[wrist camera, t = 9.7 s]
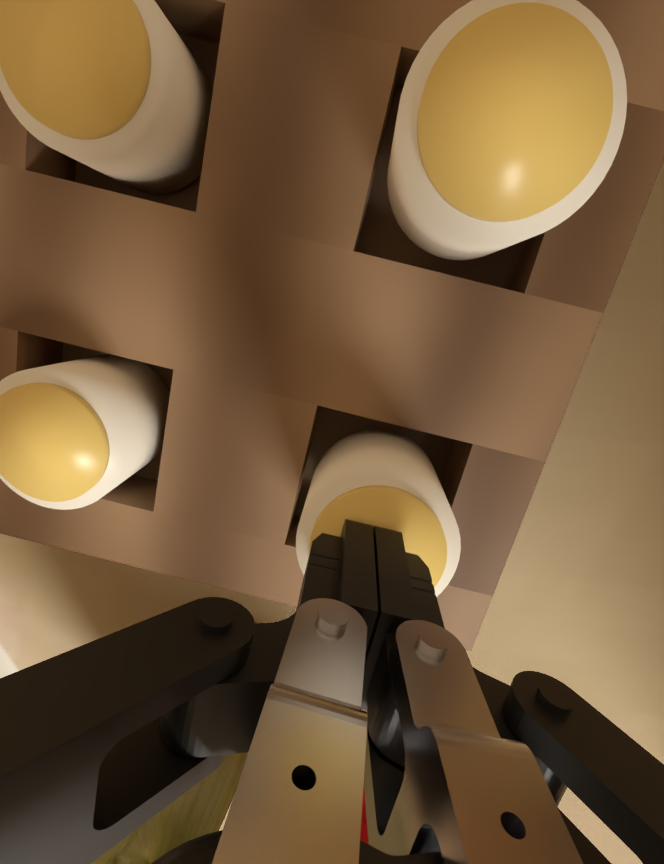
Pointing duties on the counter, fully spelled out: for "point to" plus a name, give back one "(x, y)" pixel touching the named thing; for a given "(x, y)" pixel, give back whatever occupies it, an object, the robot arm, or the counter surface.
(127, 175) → the button
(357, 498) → the button
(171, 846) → the fennel bulb
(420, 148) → the button
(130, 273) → the board
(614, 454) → the counter surface
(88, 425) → the button
